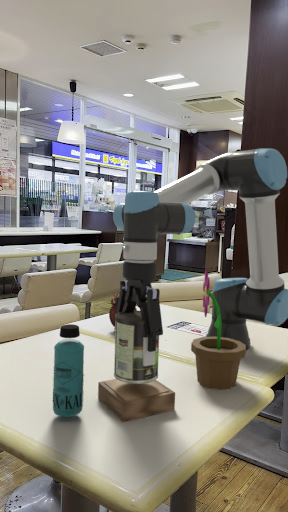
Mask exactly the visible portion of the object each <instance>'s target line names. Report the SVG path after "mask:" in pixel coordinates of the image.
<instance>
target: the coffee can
mask: <svg viewBox="0 0 288 512" xmlns="http://www.w3.org/2000/svg"><path fill="white" fill-rule="evenodd" d="M115 319H116V321H115V327H114V328H115V330H114V363H113V364H114V369H113V371H114V373H113V377H114V379H117V380H119V381H122V382H125V383H132V384H143V383H149V382H152V381H154V380H157V379H158V377H159V351H160V349H159V347H160V345H159V344H160V335H159V336H157V337H156V351H155V365H149V366H143V335H145V334H146V333H145V329H144V324H145V321H144V320H142V316H141V312H140V310H137V311H134V312H129V313H125V312H119V313H117V314H115ZM157 330H158V329H157Z"/></svg>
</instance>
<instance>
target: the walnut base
mask: <svg viewBox="0 0 288 512" xmlns="http://www.w3.org/2000/svg"><path fill="white" fill-rule="evenodd" d="M97 384H98V387H97V388H98V390H97V391H98V392H97V399H98V400H99V401H100V402H102V403H103V405H104V406H105V407H106V408H107V409H108V410H110V411H111V412H112V413H113V414H114V415H115V416H117V418H118V419H119V420H121V421H122V422H123V423H127V422H131V421H134V420H140V419H142V418H146V417H150V416H154V415H159V414H162V413H167V412H171V411H175V409H176V407H175V406H176V392H175V391H173V390H172V389H171V388H169V387H168V386H166V385H164V384H163V383H162V382H160V381H158V380H157V379H156V380H154V381H152V382H149V383H143V384H132V383H125V382H122V381H119V380H117V379H116V378H113V379H108V380H104V381H99V382H98V383H97Z"/></svg>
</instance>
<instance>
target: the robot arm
mask: <svg viewBox="0 0 288 512" xmlns="http://www.w3.org/2000/svg"><path fill="white" fill-rule="evenodd" d="M287 179H288V166H287V164H286V161H285V158H284V157H283V155H282V153H280V151H279V150H277V149H275V148H256V149H255V148H254V149H248V150H239V151H229V152H225V153H223V154H221V155H218V156H216V157H214V158H211V159H209V160H208V161H205V162H203V163H201V164H200V165H197V167H196V168H195V169H194V171H193V172H191V173H189V174H187V175H185V176H182V177H181V178H179V179H177V180H174V181H173V182H171V183H169V184H167V185H165V186H163V187H161V188H159V189H157V190H155V191H149V190H148V191H147V190H146V191H145V190H130V191H128V192H127V193H126V194H125V198H124V202H121V203H119V204H117V205H116V206H115V208H114V209H113V214H112V219H113V223H114V226H115V227H116V228H117V229H118V230H120V231H123V246H122V247H121V249H122V250H123V251H122V252H123V255H122V257H123V259H124V261H123V263H122V277H123V278H124V279H125V280H120V283H119V289H120V290H119V292H120V293H119V294H118V296H119V300H118V306H117V312H116V314H117V313H119V312H125V313H129V312H134V309H135V307H136V306H137V307H136V308H139V311H140V312H141V316H142V320H144V321H145V324H144V329H145V333H146V334H145V335H143V366H149V365H155V351H156V337H157V336H159V337H160V336H162V335H163V334H164V329H163V328H164V327H163V322H162V321H163V320H162V312H161V303H160V292H161V291H160V289H159V288H152V281H153V280H155V279H156V278H157V263H156V262H155V261H156V260H157V258H158V257H157V256H158V255H157V254H158V235H178V236H179V235H182V234H188V233H190V232H191V231H192V229H193V228H194V226H195V224H196V212H195V210H194V208H193V207H192V206H191V205H190V203H192V202H194V201H196V200H198V199H199V198H201V197H203V196H204V195H209V196H210V195H213V194H216V193H217V192H222V191H238V195H239V199H240V200H242V202H244V207H245V208H244V209H245V218H246V219H245V220H246V236H247V248H248V262H249V278H247V277H227V278H219V279H216V280H215V281H213V282H214V283H213V287H212V291H211V293H212V294H213V295H214V297H215V299H216V301H217V303H218V306H219V309H220V316H221V337H224V338H230V339H234V340H237V341H240V342H242V343H243V344H245V345H246V350H248V349H250V347H251V338H250V335H249V330H248V327H247V320H250V321H253V322H257V323H262V324H266V325H272V326H281V325H282V324H284V323H285V322H286V320H287V319H288V288H285V280H284V279H283V278H282V277H281V276H280V275H279V254H278V253H279V252H278V237H277V234H278V233H277V219H276V199H277V198H278V196H279V195H280V194H281V192H280V190H281V189H282V188H283V187H285V186H286V183H287ZM211 304H212V305H211V323H210V325H209V328H208V330H207V333H206V335H205V337H217V332H218V329H217V328H216V327H215V326H214V324H215V322H216V320H217V313H216V308H215V305H214V303H213V301H212V303H211ZM157 329H158V330H157Z"/></svg>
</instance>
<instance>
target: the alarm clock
mask: <svg viewBox="0 0 288 512" xmlns="http://www.w3.org/2000/svg"><path fill="white" fill-rule="evenodd" d="M119 294H120V291H119V292H117V293H116V295H115V294H114V295H113V297H112V298H111V300H110V303H111V307H110V309H109V311H108V312H109V313H108V316H109V321H110V323H111V325H112V326H113V327H114V329H113V330H114V331H115V321H116V319H115V314H116V312H117V306H118V300H119ZM134 311H138V309H137V307H135V309H134Z"/></svg>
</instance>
